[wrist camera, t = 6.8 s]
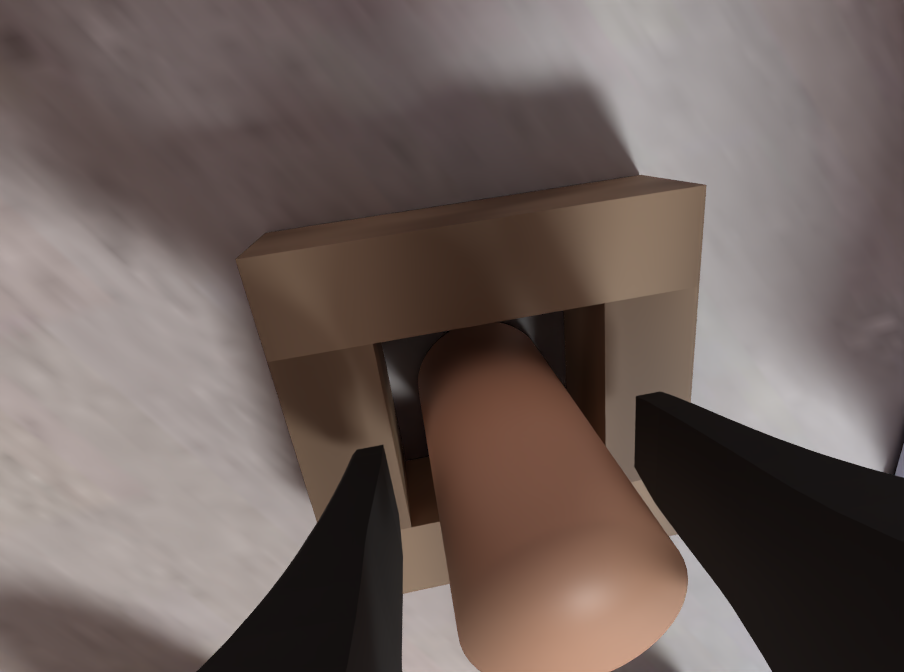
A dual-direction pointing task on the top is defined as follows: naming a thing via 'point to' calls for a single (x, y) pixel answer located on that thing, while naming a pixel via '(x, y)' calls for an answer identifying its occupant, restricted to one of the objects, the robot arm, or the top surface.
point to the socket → (476, 319)
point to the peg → (538, 515)
